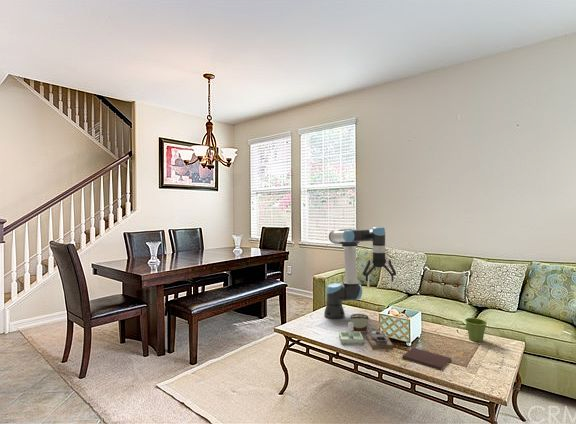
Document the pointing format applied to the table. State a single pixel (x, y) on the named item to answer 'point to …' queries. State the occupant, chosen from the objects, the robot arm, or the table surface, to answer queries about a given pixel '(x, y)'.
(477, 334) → the plant pot
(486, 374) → the table surface
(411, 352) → the notebook
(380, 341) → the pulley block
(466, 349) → the table surface
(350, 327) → the pin
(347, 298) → the robot arm
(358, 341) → the tray
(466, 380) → the table surface
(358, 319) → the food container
